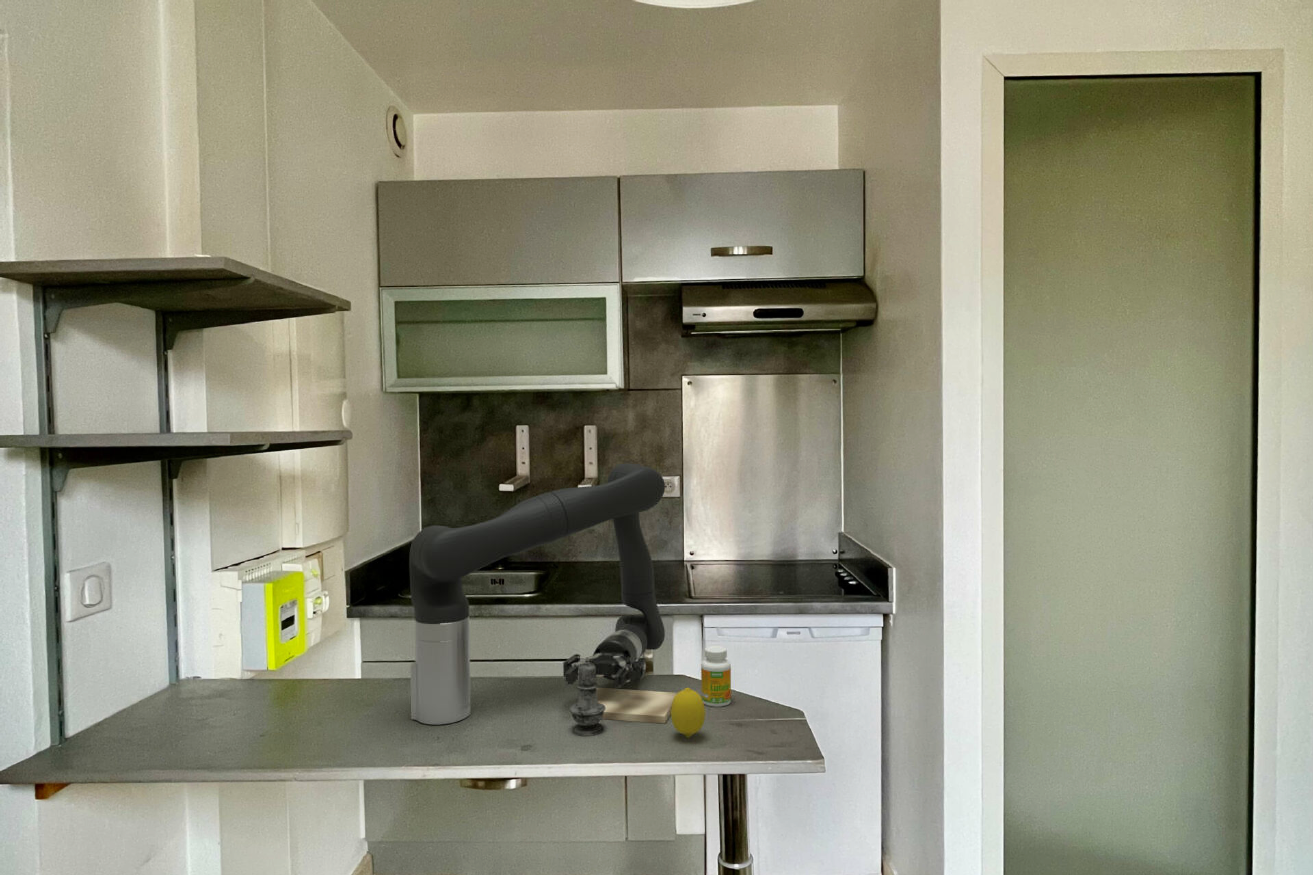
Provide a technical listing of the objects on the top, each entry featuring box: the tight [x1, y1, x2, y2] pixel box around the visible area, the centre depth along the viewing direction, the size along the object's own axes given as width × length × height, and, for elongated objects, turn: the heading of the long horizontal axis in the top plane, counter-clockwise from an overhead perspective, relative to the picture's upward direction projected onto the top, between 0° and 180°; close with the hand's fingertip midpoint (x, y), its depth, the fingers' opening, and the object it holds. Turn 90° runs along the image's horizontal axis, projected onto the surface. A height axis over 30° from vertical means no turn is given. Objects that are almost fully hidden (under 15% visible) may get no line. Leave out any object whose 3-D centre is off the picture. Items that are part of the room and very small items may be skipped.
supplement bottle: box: [700, 645, 732, 708], centre depth 139 cm, size 5×5×10 cm
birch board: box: [597, 687, 679, 724], centre depth 137 cm, size 16×12×1 cm
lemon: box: [670, 687, 706, 738], centre depth 123 cm, size 6×6×8 cm
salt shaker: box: [569, 657, 605, 737], centre depth 127 cm, size 6×6×12 cm
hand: (592, 680), depth 130 cm, fingers open, 8 cm apart
